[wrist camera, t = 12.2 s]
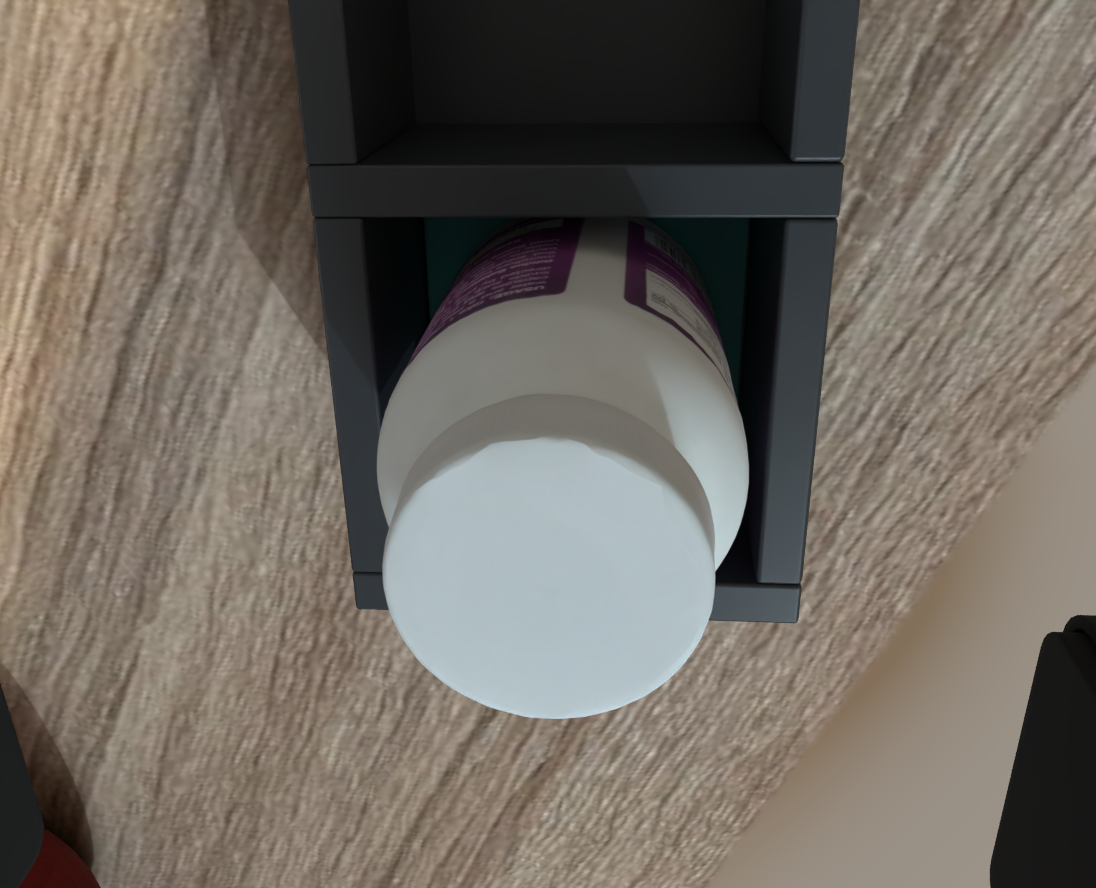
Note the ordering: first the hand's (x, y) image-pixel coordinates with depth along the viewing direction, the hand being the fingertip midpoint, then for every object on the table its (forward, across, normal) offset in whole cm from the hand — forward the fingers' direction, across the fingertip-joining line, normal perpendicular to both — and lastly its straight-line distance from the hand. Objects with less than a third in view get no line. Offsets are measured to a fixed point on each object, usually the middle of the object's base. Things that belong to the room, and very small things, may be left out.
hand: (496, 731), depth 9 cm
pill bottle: (+13, 0, +1) cm, 13 cm away
